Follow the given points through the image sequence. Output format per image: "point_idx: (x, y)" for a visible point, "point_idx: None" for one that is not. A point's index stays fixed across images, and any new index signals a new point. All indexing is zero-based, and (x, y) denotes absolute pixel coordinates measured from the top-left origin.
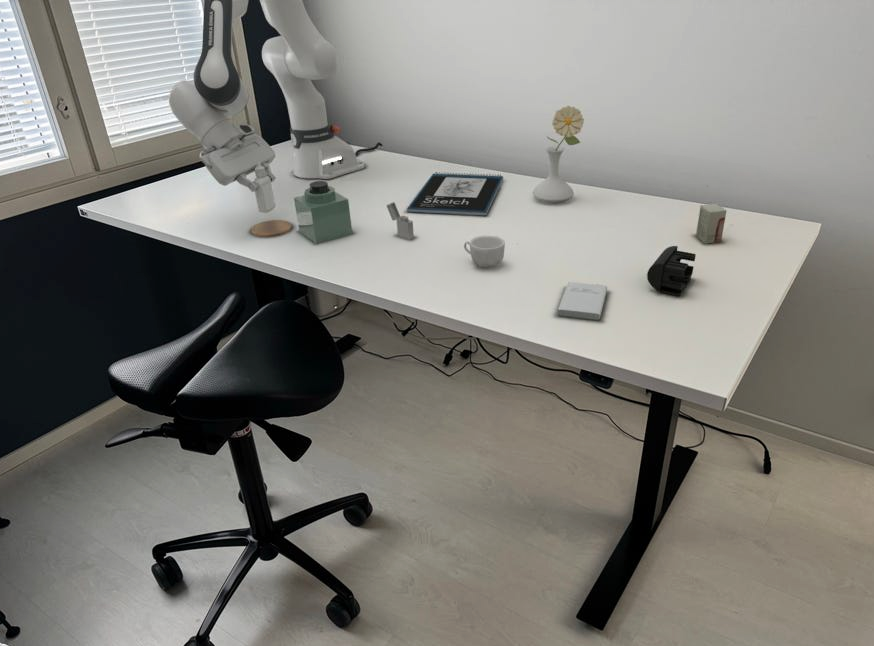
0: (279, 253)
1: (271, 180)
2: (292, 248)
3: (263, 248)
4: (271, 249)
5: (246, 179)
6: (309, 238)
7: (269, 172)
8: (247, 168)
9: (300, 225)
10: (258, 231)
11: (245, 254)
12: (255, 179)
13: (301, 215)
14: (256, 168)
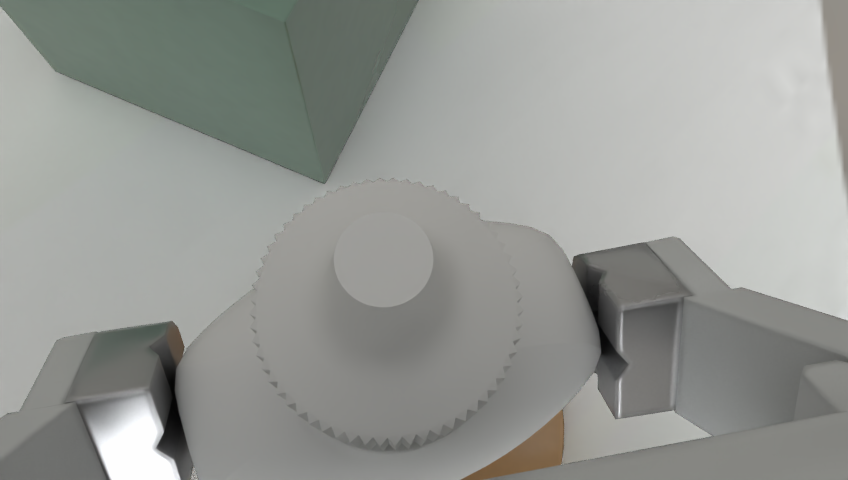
0: (689, 52)
1: (182, 349)
2: (583, 32)
3: (697, 204)
4: (675, 142)
5: (832, 322)
6: (401, 32)
7: (68, 409)
8: (736, 433)
9: (340, 115)
10: (520, 453)
11: (843, 243)
12: (524, 384)
13: (359, 7)
14: (495, 305)
